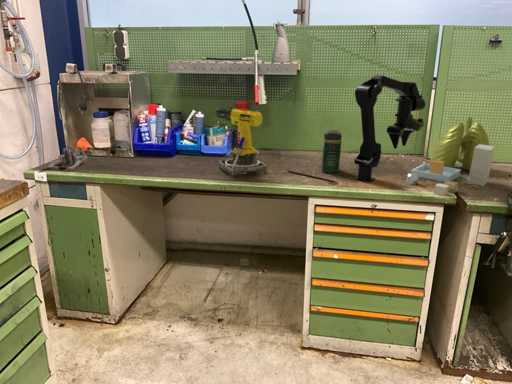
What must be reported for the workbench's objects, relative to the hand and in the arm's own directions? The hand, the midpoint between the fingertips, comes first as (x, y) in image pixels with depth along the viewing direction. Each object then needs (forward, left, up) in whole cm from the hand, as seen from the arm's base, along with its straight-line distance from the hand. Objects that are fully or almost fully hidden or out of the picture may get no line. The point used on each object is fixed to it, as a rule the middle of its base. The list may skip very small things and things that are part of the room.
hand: (399, 147), depth 187 cm
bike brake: (-96, +117, -12) cm, 152 cm away
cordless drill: (-44, +56, -12) cm, 72 cm away
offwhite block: (-18, -25, -12) cm, 33 cm away
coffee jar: (-18, +24, -12) cm, 32 cm away
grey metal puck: (-12, -12, -12) cm, 21 cm away
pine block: (-12, -27, -12) cm, 32 cm away
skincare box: (+8, -32, -12) cm, 35 cm away
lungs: (+27, -19, -12) cm, 35 cm away
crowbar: (-34, +25, -12) cm, 44 cm away
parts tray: (+6, -15, -12) cm, 20 cm away
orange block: (+6, -15, -11) cm, 20 cm away
